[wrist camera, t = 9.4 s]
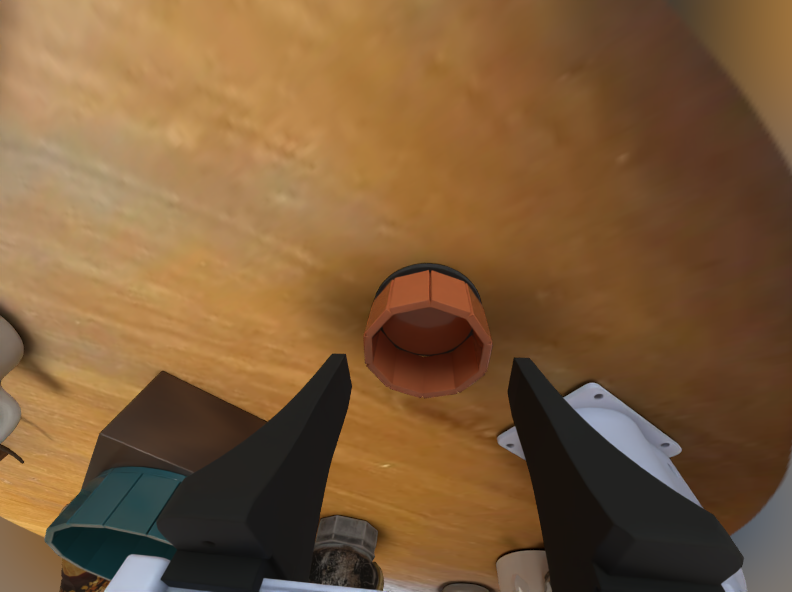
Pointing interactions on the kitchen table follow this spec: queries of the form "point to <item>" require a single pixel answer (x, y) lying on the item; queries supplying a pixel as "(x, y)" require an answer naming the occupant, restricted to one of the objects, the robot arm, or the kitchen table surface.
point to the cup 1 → (3, 353)
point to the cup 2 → (523, 571)
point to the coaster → (430, 267)
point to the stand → (171, 430)
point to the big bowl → (115, 520)
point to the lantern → (346, 554)
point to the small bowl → (427, 335)
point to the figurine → (2, 451)
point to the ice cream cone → (79, 578)
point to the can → (464, 588)
